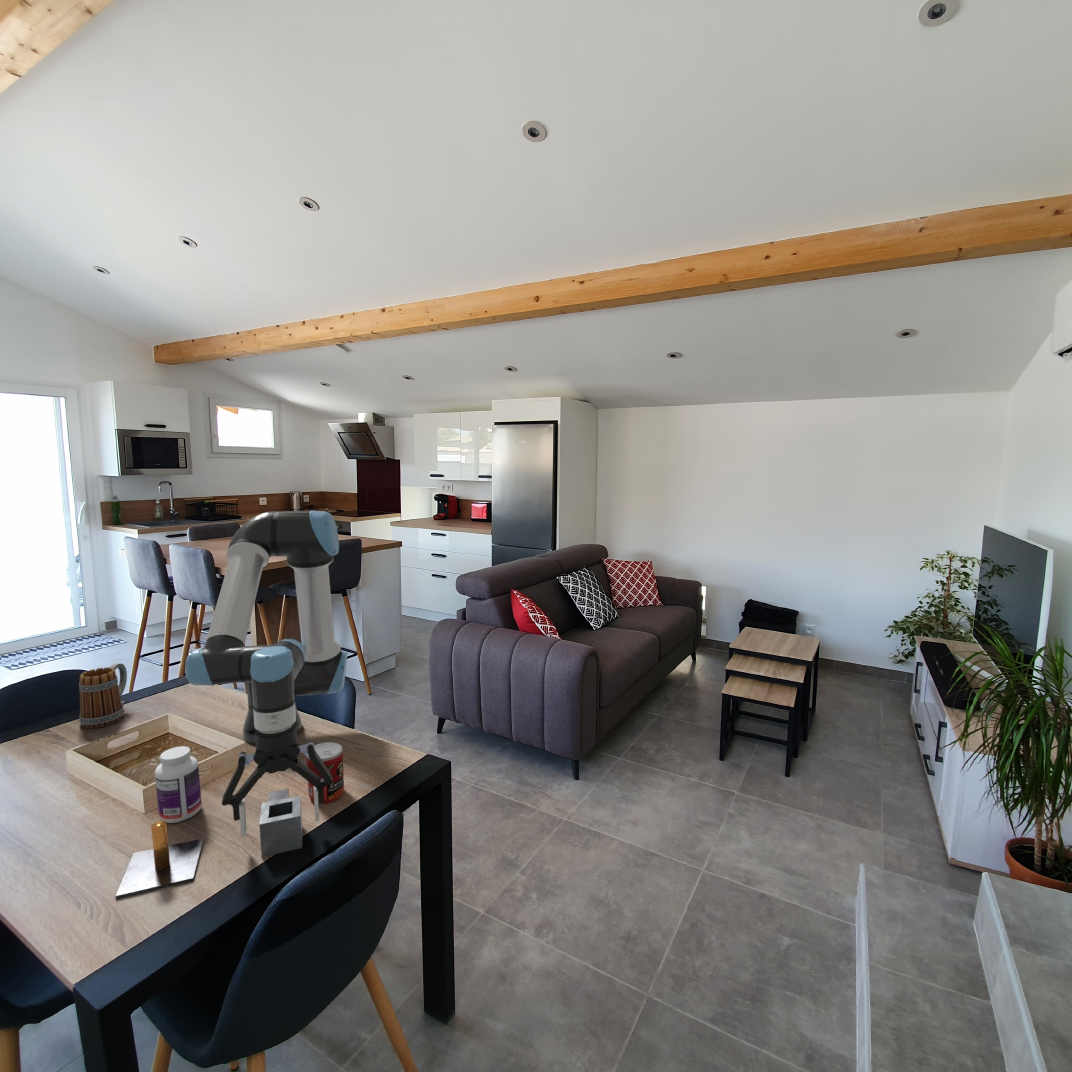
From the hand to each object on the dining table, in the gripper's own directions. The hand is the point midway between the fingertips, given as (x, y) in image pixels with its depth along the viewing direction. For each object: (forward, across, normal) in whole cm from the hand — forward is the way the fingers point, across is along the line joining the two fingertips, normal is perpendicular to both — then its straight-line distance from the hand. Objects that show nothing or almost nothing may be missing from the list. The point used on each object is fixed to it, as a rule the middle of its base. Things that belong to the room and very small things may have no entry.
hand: (281, 825), depth 117 cm
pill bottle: (+4, -21, +18) cm, 28 cm away
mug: (+3, -50, +80) cm, 95 cm away
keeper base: (+4, -21, 0) cm, 21 cm away
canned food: (+4, +9, +14) cm, 17 cm away
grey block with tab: (+4, -1, +9) cm, 10 cm away
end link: (+4, 0, 0) cm, 4 cm away
